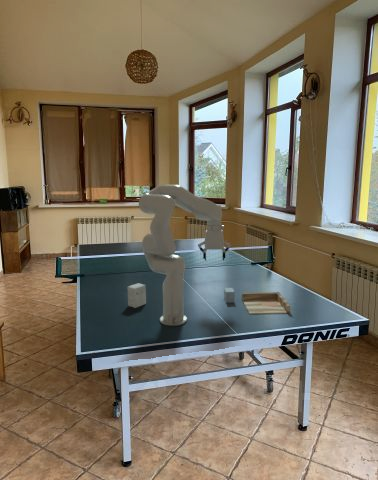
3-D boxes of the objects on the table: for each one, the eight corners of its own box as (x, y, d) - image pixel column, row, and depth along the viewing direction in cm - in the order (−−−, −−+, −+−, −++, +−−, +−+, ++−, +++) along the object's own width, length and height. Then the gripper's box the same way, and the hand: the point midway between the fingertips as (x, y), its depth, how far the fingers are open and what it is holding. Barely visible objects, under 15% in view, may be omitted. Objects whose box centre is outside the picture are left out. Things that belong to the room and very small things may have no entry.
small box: (139, 301, 201) (138, 282, 199) (146, 303, 198) (145, 284, 196) (127, 305, 195) (127, 286, 193) (135, 308, 192) (134, 288, 190)
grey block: (234, 302, 199) (234, 291, 198) (225, 302, 199) (226, 292, 198) (232, 298, 206) (232, 287, 205) (224, 298, 206) (224, 287, 205)
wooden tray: (289, 313, 184) (290, 305, 183) (249, 314, 183) (249, 306, 182) (278, 299, 203) (278, 292, 203) (242, 300, 203) (242, 292, 202)
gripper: (230, 226, 199) (230, 257, 203) (197, 227, 200) (198, 258, 203) (231, 229, 192) (231, 261, 196) (197, 229, 192) (198, 261, 196)
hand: (214, 259), depth 199 cm, fingers open, 9 cm apart
